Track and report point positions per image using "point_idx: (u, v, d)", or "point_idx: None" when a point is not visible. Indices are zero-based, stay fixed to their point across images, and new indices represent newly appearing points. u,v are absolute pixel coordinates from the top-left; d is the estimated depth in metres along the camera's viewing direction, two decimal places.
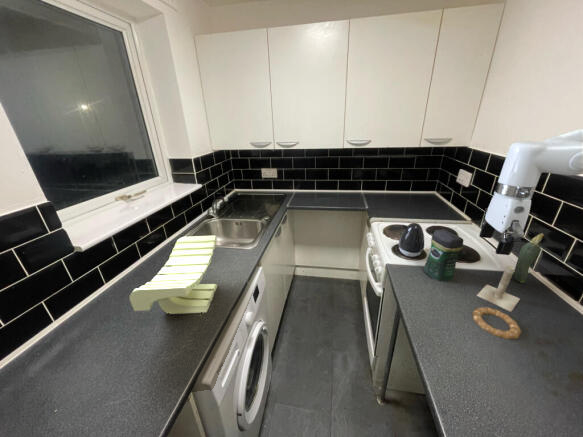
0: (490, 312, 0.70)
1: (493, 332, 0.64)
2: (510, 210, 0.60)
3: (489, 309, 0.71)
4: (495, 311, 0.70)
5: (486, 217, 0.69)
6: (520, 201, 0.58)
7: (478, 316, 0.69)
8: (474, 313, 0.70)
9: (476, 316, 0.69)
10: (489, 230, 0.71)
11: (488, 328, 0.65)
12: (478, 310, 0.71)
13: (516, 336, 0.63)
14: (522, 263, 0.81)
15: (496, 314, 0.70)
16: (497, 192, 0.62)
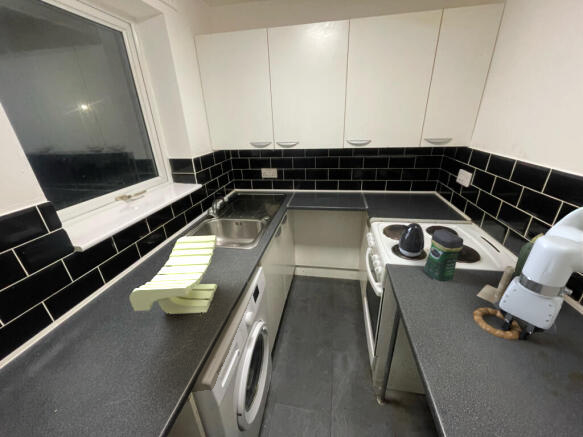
0: (491, 312, 0.70)
1: (494, 332, 0.64)
2: (556, 309, 0.55)
3: (490, 309, 0.71)
4: (496, 311, 0.70)
5: (504, 307, 0.63)
6: (562, 298, 0.54)
7: (479, 316, 0.68)
8: (475, 313, 0.70)
9: (477, 316, 0.69)
10: (511, 324, 0.65)
11: (489, 329, 0.65)
12: (479, 310, 0.70)
13: (517, 336, 0.63)
14: (522, 263, 0.81)
15: (497, 314, 0.70)
16: (537, 292, 0.55)
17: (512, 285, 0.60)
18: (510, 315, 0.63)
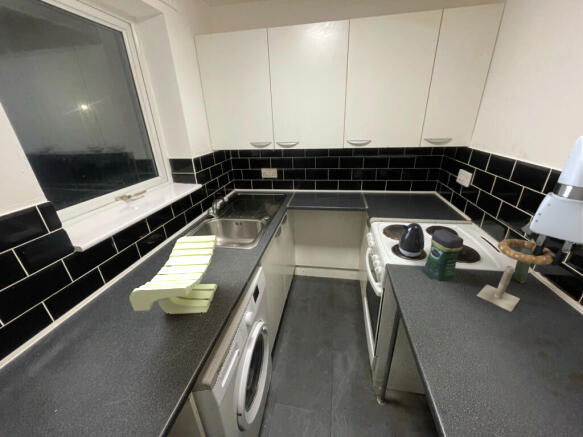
0: (518, 243, 0.64)
1: (524, 257, 0.58)
2: None
3: (516, 240, 0.65)
4: (523, 241, 0.64)
5: (536, 228, 0.57)
6: None
7: (505, 245, 0.62)
8: (500, 244, 0.64)
9: (503, 246, 0.63)
10: (543, 249, 0.59)
11: (518, 254, 0.59)
12: (504, 241, 0.64)
13: (550, 260, 0.57)
14: (522, 263, 0.81)
15: (524, 244, 0.64)
16: (577, 199, 0.49)
17: (546, 200, 0.54)
18: (543, 237, 0.57)
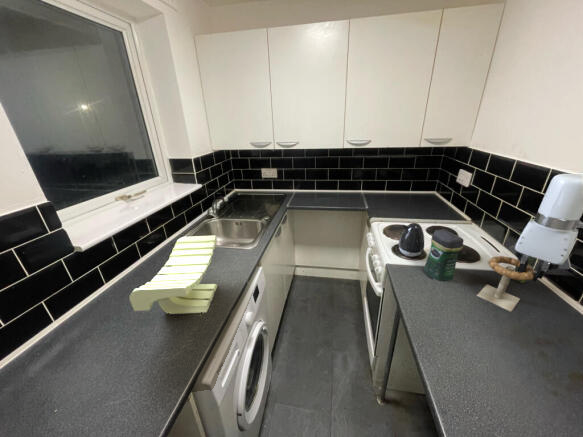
0: (506, 260, 0.74)
1: (510, 274, 0.68)
2: (571, 243, 0.59)
3: (504, 257, 0.75)
4: (510, 259, 0.74)
5: (520, 249, 0.67)
6: (576, 232, 0.58)
7: (495, 262, 0.72)
8: (490, 260, 0.74)
9: (493, 262, 0.73)
10: (526, 266, 0.69)
11: (505, 271, 0.69)
12: (494, 258, 0.74)
13: (532, 276, 0.67)
14: None
15: (511, 261, 0.74)
16: (552, 227, 0.59)
17: (528, 226, 0.64)
18: (526, 256, 0.67)
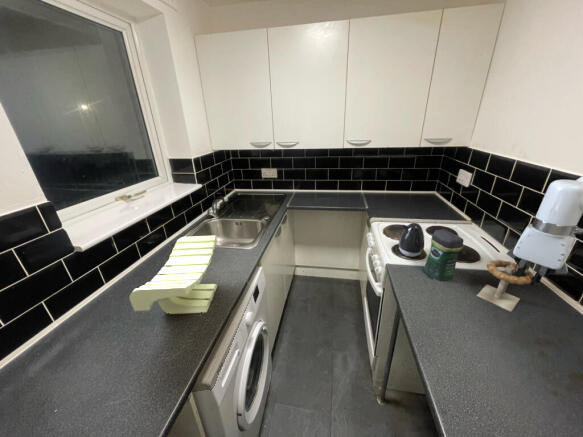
0: (504, 264, 0.75)
1: (508, 278, 0.69)
2: (568, 248, 0.59)
3: (503, 261, 0.75)
4: (509, 263, 0.75)
5: (518, 253, 0.68)
6: (573, 238, 0.59)
7: (493, 266, 0.73)
8: (489, 264, 0.75)
9: (491, 266, 0.73)
10: (524, 271, 0.69)
11: (503, 275, 0.69)
12: (492, 262, 0.75)
13: (530, 281, 0.67)
14: None
15: (510, 265, 0.74)
16: (550, 233, 0.60)
17: (526, 231, 0.65)
18: (524, 261, 0.68)
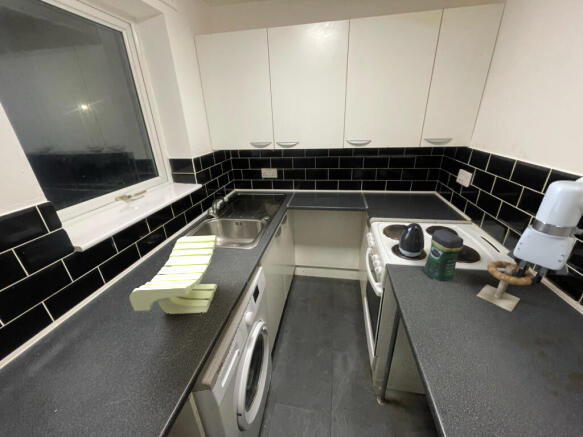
0: (504, 265, 0.75)
1: (508, 279, 0.69)
2: (568, 249, 0.59)
3: (503, 262, 0.75)
4: (509, 263, 0.75)
5: (518, 254, 0.68)
6: (573, 238, 0.59)
7: (493, 267, 0.73)
8: (489, 265, 0.75)
9: (491, 267, 0.73)
10: (525, 271, 0.69)
11: (503, 276, 0.70)
12: (493, 263, 0.75)
13: (530, 281, 0.67)
14: None
15: None
16: (550, 234, 0.60)
17: (526, 232, 0.65)
18: (524, 262, 0.68)
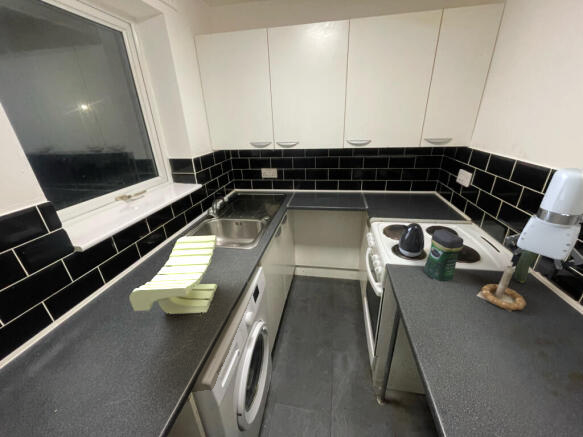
0: None
1: (500, 303, 0.72)
2: (574, 238, 0.58)
3: (497, 285, 0.78)
4: None
5: (522, 245, 0.66)
6: (579, 227, 0.58)
7: (487, 290, 0.76)
8: (483, 288, 0.78)
9: (485, 291, 0.77)
10: (519, 257, 0.69)
11: (496, 300, 0.73)
12: (487, 286, 0.78)
13: (521, 307, 0.70)
14: (522, 263, 0.81)
15: None
16: (555, 222, 0.59)
17: (530, 221, 0.64)
18: (521, 249, 0.67)
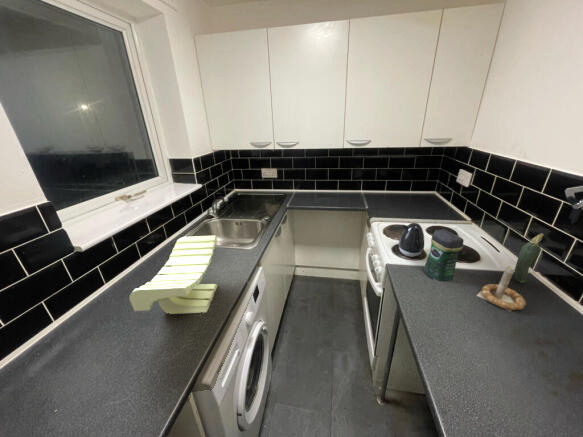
0: None
1: (500, 303, 0.72)
2: None
3: (497, 285, 0.78)
4: None
5: None
6: None
7: (487, 290, 0.76)
8: (483, 288, 0.78)
9: (485, 291, 0.77)
10: (580, 212, 0.60)
11: (496, 300, 0.73)
12: (487, 286, 0.78)
13: (521, 307, 0.70)
14: (522, 263, 0.81)
15: None
16: None
17: None
18: None
